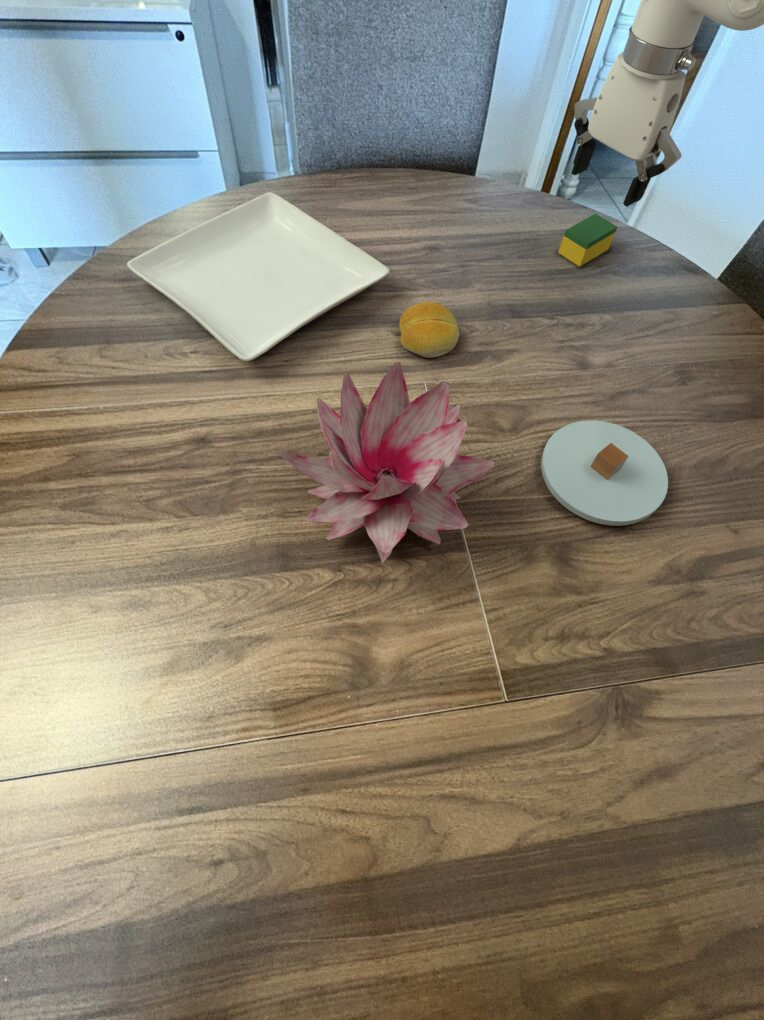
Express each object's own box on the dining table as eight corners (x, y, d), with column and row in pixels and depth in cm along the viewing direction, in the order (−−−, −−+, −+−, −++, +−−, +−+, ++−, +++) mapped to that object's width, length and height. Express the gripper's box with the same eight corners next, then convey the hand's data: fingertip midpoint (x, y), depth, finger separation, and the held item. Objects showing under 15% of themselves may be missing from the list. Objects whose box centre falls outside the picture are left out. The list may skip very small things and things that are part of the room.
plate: (590, 410, 81) (594, 402, 79) (686, 483, 75) (693, 475, 74) (514, 468, 75) (517, 460, 74) (612, 551, 69) (617, 544, 68)
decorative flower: (334, 614, 64) (331, 543, 51) (265, 461, 74) (248, 370, 61) (509, 542, 69) (546, 462, 57) (423, 410, 79) (438, 316, 66)
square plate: (272, 210, 101) (269, 187, 98) (391, 290, 92) (393, 268, 88) (129, 281, 90) (121, 258, 86) (249, 381, 80) (245, 359, 77)
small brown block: (603, 455, 75) (611, 442, 72) (620, 469, 74) (628, 456, 71) (590, 466, 74) (597, 453, 71) (607, 480, 73) (615, 467, 70)
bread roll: (402, 361, 84) (404, 338, 80) (397, 316, 89) (399, 293, 85) (461, 360, 84) (466, 338, 81) (453, 316, 89) (458, 293, 86)
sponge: (587, 236, 102) (595, 213, 98) (608, 249, 100) (617, 226, 97) (557, 252, 99) (565, 229, 95) (579, 266, 97) (588, 244, 94)
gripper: (731, 73, 74) (667, 206, 89) (618, 20, 81) (575, 153, 95) (697, 89, 71) (636, 224, 86) (582, 33, 78) (543, 168, 92)
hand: (604, 187), depth 91 cm, fingers open, 9 cm apart
